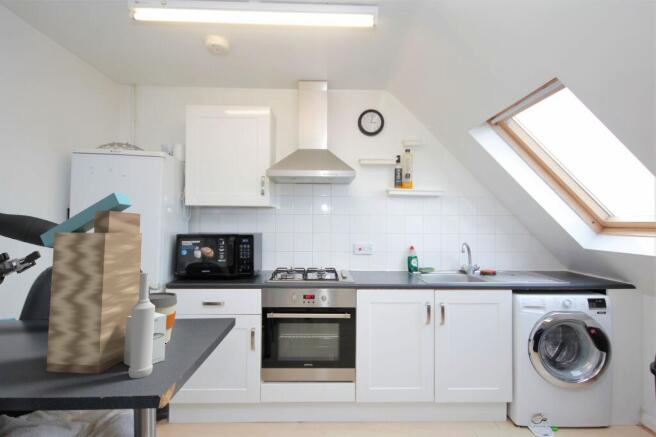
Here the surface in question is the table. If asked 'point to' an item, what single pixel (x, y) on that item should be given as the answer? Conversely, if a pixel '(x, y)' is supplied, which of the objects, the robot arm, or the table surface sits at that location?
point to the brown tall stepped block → (93, 293)
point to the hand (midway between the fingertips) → (23, 254)
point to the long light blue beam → (87, 217)
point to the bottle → (142, 332)
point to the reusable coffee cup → (165, 308)
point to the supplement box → (158, 339)
